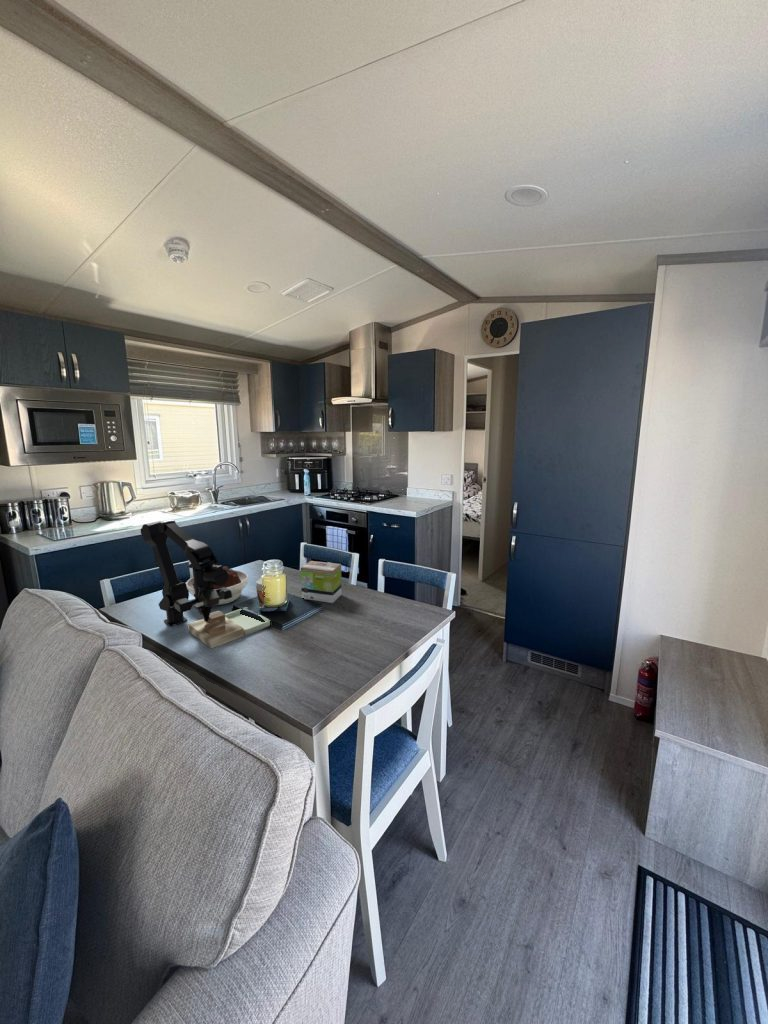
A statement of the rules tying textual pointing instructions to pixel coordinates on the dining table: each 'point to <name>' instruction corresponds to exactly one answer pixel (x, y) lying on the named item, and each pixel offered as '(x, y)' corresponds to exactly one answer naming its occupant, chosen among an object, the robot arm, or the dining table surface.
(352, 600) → the dining table surface
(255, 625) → the tray
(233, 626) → the birch bench plate
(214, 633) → the walnut tile
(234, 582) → the white serving bowl
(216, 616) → the walnut tile
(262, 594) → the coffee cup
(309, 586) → the tea box
